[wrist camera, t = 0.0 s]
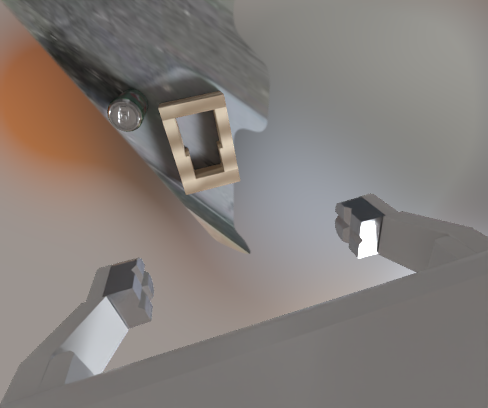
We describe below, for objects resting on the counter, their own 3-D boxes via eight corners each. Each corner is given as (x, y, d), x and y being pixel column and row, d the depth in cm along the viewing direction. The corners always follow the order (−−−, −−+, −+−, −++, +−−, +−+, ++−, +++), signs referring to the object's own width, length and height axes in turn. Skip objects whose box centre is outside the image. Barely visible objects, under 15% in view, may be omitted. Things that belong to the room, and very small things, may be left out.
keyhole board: (159, 103, 51) (158, 108, 47) (219, 90, 52) (223, 94, 48) (185, 184, 61) (186, 194, 56) (235, 172, 62) (240, 181, 58)
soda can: (121, 116, 51) (108, 132, 41) (117, 87, 48) (103, 97, 38) (149, 117, 52) (143, 134, 42) (147, 89, 49) (140, 100, 39)
